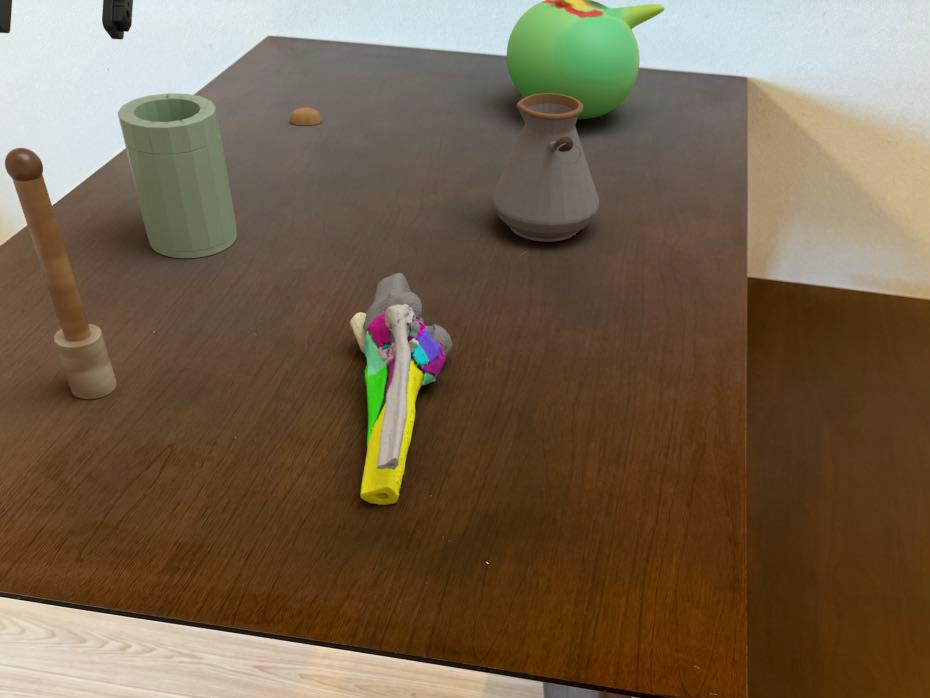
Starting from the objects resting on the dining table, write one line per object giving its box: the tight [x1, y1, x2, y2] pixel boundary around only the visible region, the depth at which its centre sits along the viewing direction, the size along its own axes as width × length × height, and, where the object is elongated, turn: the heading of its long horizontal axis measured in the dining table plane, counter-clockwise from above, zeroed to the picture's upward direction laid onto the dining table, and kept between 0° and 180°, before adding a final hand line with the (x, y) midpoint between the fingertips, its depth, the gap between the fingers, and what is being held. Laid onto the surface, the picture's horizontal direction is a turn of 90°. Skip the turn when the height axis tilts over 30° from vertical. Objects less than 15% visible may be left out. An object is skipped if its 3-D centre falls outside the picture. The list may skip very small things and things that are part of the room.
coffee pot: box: [492, 93, 600, 243], centre depth 97 cm, size 21×12×15 cm, turn 4°
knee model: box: [349, 272, 454, 506], centre depth 78 cm, size 9×8×25 cm
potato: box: [290, 106, 323, 126], centre depth 124 cm, size 3×4×2 cm, turn 100°
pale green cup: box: [117, 92, 238, 259], centre depth 96 cm, size 9×9×13 cm
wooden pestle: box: [4, 147, 118, 400], centre depth 74 cm, size 4×4×20 cm
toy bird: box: [506, 0, 666, 120], centre depth 125 cm, size 18×17×15 cm
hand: (55, 30), depth 71 cm, fingers open, 8 cm apart
